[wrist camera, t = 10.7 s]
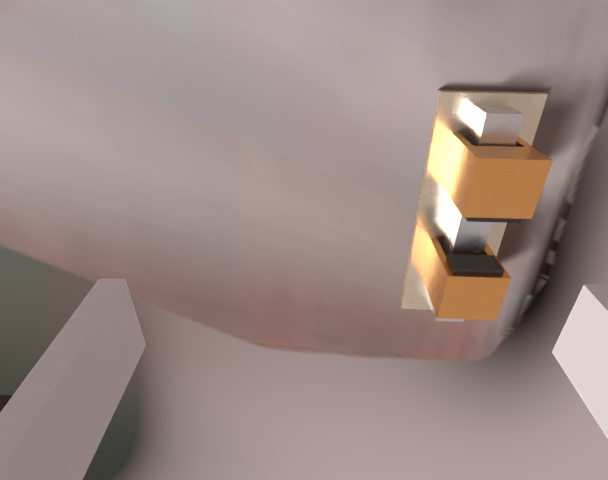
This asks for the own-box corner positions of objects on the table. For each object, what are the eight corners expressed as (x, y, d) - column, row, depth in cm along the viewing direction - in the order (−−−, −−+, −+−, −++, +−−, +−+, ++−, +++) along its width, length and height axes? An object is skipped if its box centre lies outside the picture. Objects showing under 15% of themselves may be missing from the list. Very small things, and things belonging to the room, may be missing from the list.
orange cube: (431, 233, 41) (449, 270, 35) (486, 235, 41) (513, 272, 35) (422, 277, 44) (437, 318, 38) (473, 279, 44) (495, 320, 38)
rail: (437, 89, 35) (465, 110, 28) (542, 91, 35) (593, 113, 28) (399, 303, 47) (412, 351, 41) (476, 305, 47) (501, 353, 41)
